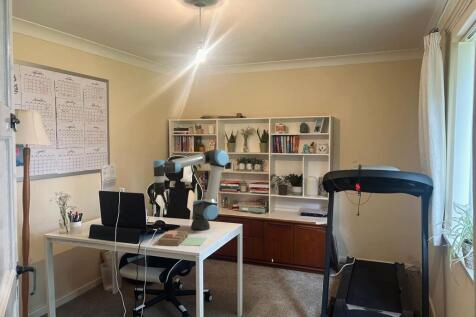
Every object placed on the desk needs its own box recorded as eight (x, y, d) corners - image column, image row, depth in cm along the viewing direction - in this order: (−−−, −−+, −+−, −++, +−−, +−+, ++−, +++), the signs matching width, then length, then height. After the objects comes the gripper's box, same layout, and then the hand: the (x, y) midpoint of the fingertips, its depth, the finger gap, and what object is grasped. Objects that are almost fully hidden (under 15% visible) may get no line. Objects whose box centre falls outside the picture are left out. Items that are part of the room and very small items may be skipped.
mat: (188, 237, 254) (188, 237, 254) (207, 238, 252) (207, 237, 252) (180, 245, 237) (180, 244, 236) (200, 245, 234) (200, 245, 234)
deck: (169, 236, 258) (169, 230, 258) (187, 236, 256) (187, 231, 256) (158, 245, 237) (158, 239, 237) (178, 245, 235) (178, 240, 234)
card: (169, 233, 252) (169, 230, 251) (177, 233, 251) (177, 230, 251) (164, 236, 243) (164, 233, 243) (173, 237, 242) (172, 234, 242)
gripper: (143, 182, 243) (144, 214, 245) (171, 182, 240) (171, 215, 242) (147, 181, 251) (148, 212, 252) (174, 181, 248) (175, 213, 249)
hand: (159, 213), depth 247 cm, fingers open, 7 cm apart
